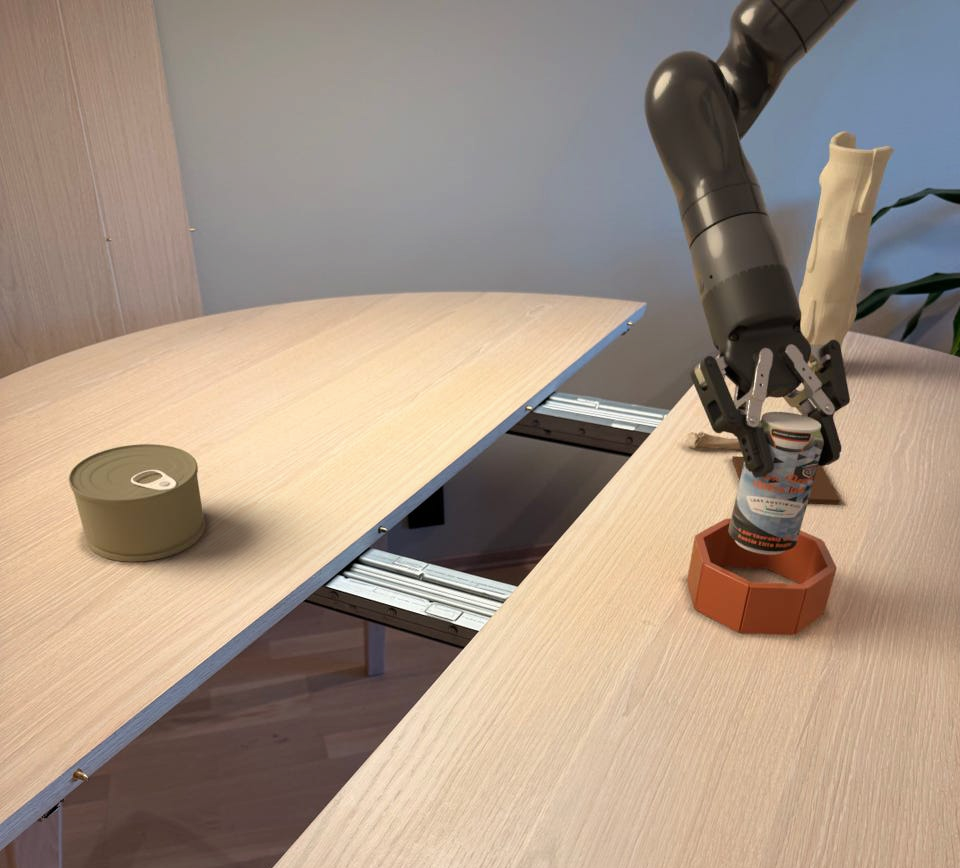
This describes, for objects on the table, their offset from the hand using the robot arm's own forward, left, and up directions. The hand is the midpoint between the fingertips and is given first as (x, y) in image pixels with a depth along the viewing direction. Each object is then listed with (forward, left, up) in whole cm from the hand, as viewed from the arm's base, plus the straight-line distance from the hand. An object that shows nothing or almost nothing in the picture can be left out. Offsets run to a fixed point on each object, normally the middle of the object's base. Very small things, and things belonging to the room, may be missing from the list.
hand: (797, 467), depth 83 cm
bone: (-3, -34, -14) cm, 37 cm away
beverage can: (+1, -2, -9) cm, 9 cm away
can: (+61, -9, -14) cm, 63 cm away
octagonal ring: (+1, -1, -14) cm, 14 cm away
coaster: (-7, -25, -14) cm, 30 cm away
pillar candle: (-19, -61, -14) cm, 66 cm away
